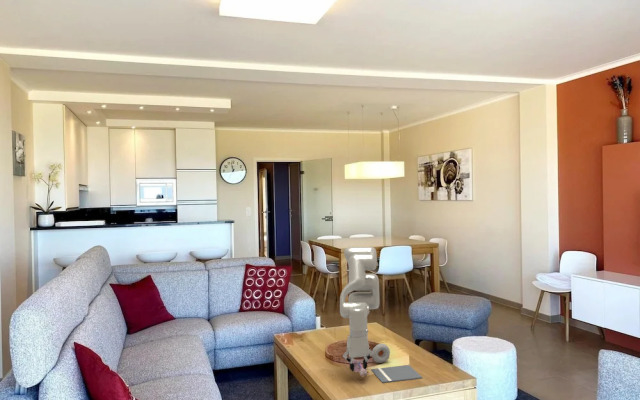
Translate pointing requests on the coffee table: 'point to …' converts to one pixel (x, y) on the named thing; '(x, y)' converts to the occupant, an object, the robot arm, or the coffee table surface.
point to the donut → (385, 355)
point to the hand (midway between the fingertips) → (358, 369)
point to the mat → (396, 373)
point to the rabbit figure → (359, 368)
